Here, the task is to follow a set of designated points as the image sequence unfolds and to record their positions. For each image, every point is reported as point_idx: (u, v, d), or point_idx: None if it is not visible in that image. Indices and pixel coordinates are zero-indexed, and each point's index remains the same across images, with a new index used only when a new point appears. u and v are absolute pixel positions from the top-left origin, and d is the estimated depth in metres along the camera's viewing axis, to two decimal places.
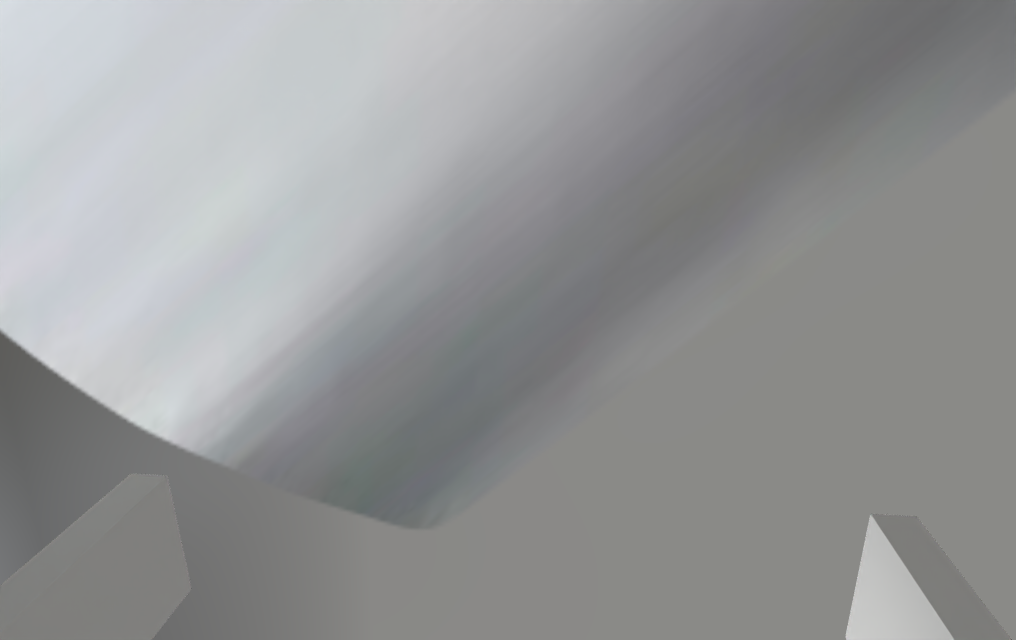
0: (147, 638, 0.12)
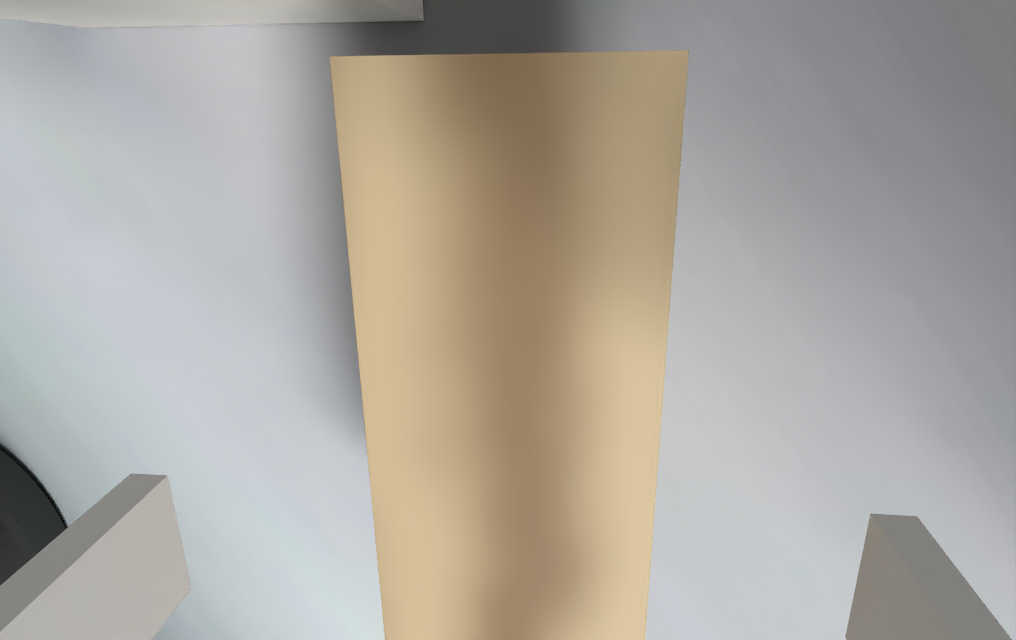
0: (147, 638, 0.12)
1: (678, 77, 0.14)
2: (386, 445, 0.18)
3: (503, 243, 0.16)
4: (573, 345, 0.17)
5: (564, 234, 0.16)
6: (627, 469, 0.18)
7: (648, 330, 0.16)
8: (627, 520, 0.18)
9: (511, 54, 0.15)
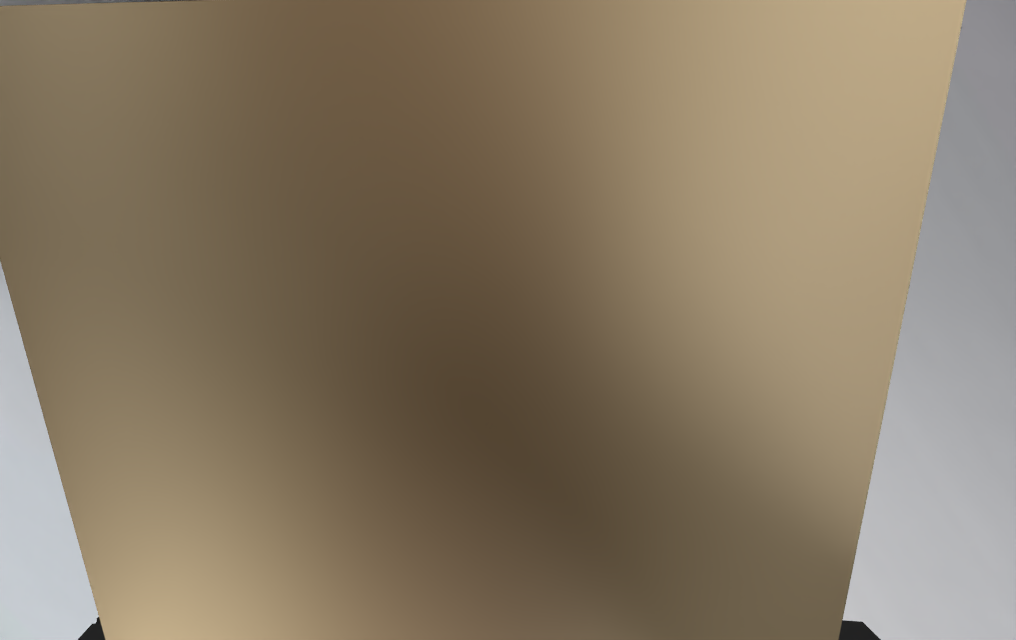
0: None
1: (927, 64, 0.05)
2: None
3: (427, 482, 0.06)
4: None
5: (577, 467, 0.06)
6: None
7: None
8: None
9: None
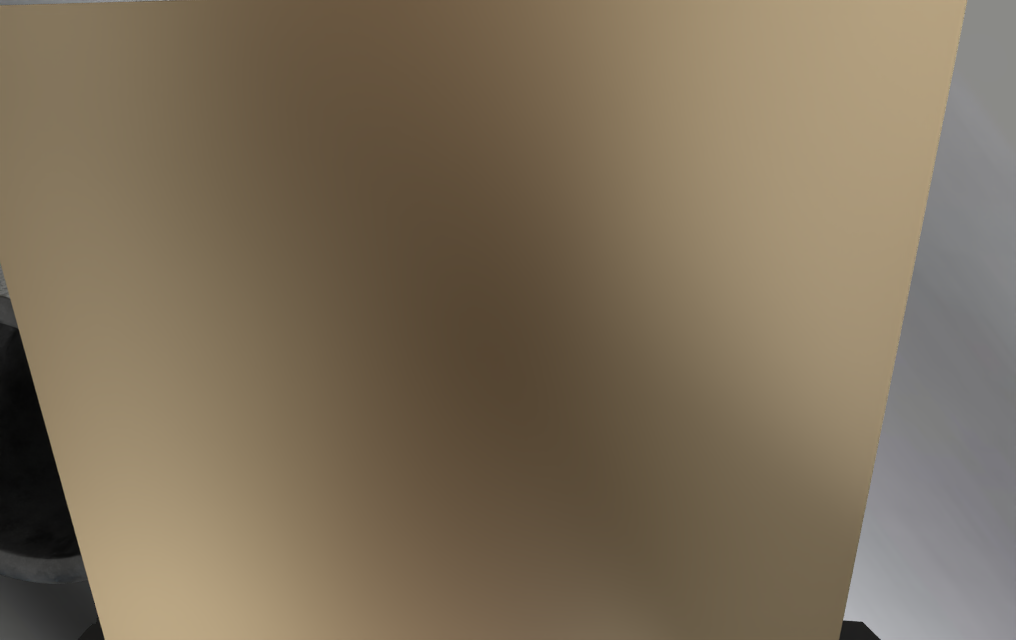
0: None
1: (928, 63, 0.05)
2: None
3: (426, 482, 0.06)
4: None
5: (577, 467, 0.06)
6: None
7: None
8: None
9: None
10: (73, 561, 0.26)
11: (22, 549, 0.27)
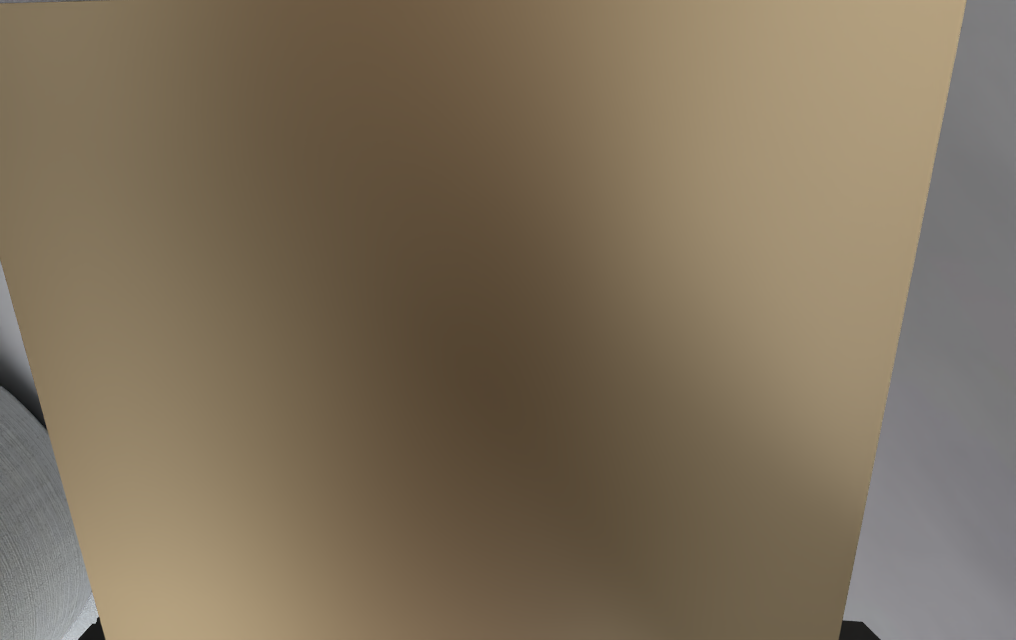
0: None
1: (927, 61, 0.05)
2: None
3: (427, 480, 0.06)
4: None
5: (577, 466, 0.06)
6: None
7: None
8: None
9: None
10: None
11: None
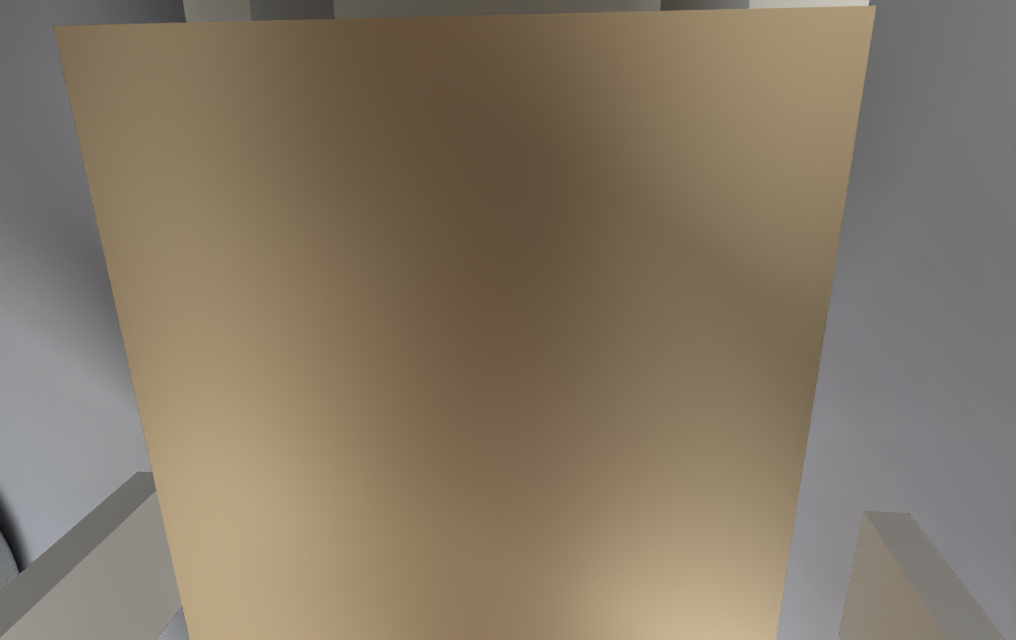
0: (154, 635, 0.12)
1: (845, 71, 0.06)
2: None
3: (448, 416, 0.08)
4: (591, 604, 0.08)
5: (572, 403, 0.08)
6: None
7: (742, 587, 0.08)
8: None
9: (452, 18, 0.06)
10: None
11: None
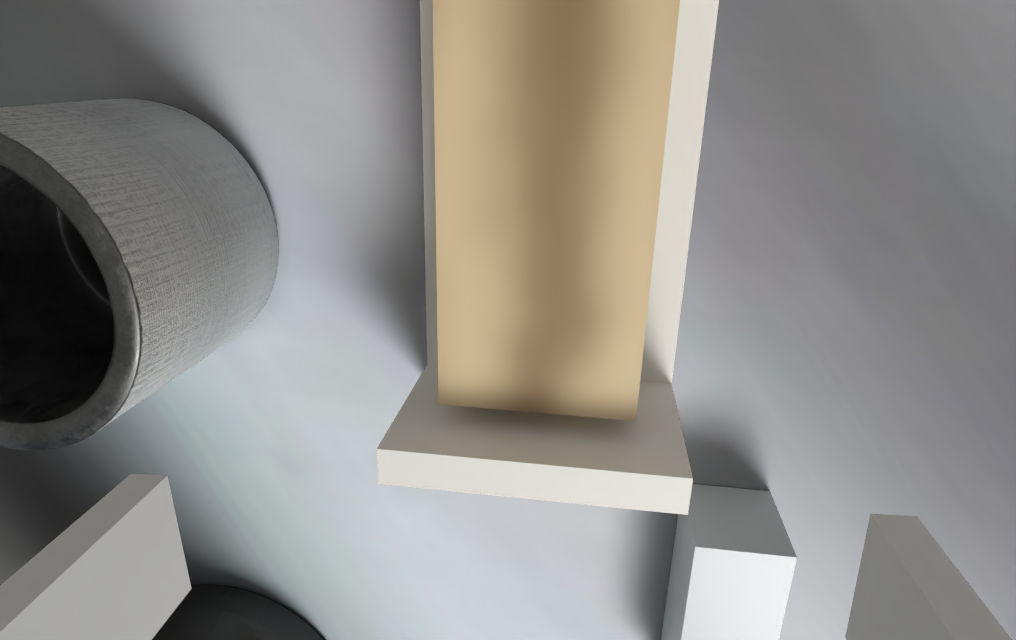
0: (147, 638, 0.12)
1: None
2: (451, 212, 0.24)
3: (549, 45, 0.22)
4: (597, 129, 0.23)
5: (594, 38, 0.22)
6: (632, 234, 0.24)
7: (653, 117, 0.22)
8: (630, 278, 0.24)
9: None
10: (46, 426, 0.25)
11: None
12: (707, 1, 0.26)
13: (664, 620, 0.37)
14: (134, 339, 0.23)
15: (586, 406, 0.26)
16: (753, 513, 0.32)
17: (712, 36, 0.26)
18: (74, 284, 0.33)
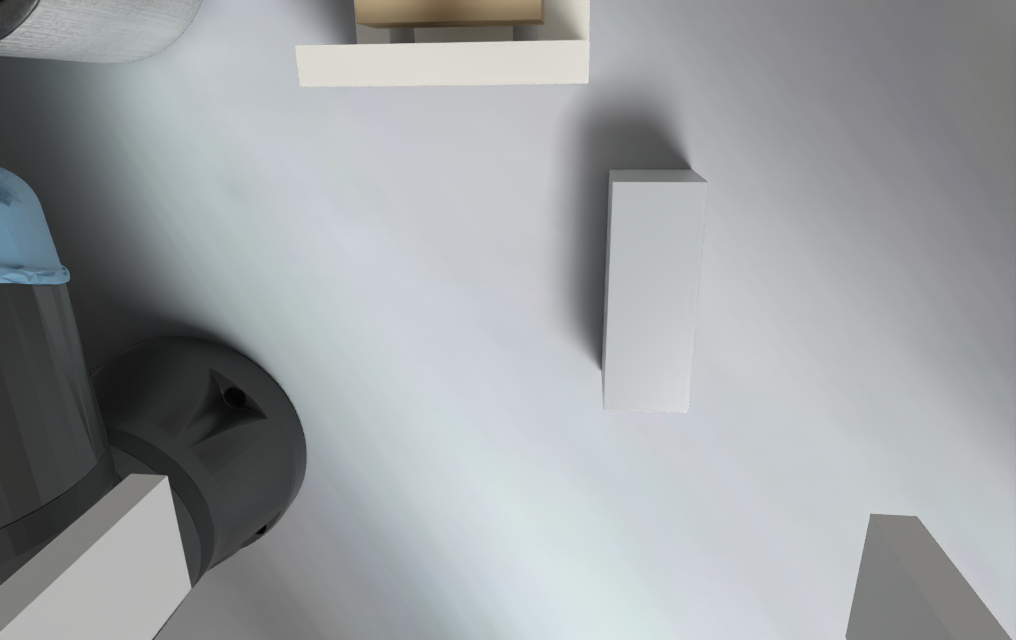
0: (147, 638, 0.12)
1: None
2: None
3: None
4: None
5: None
6: None
7: None
8: None
9: None
10: None
11: None
12: None
13: (603, 325, 0.39)
14: None
15: (493, 7, 0.28)
16: (673, 174, 0.34)
17: None
18: None
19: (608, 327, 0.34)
